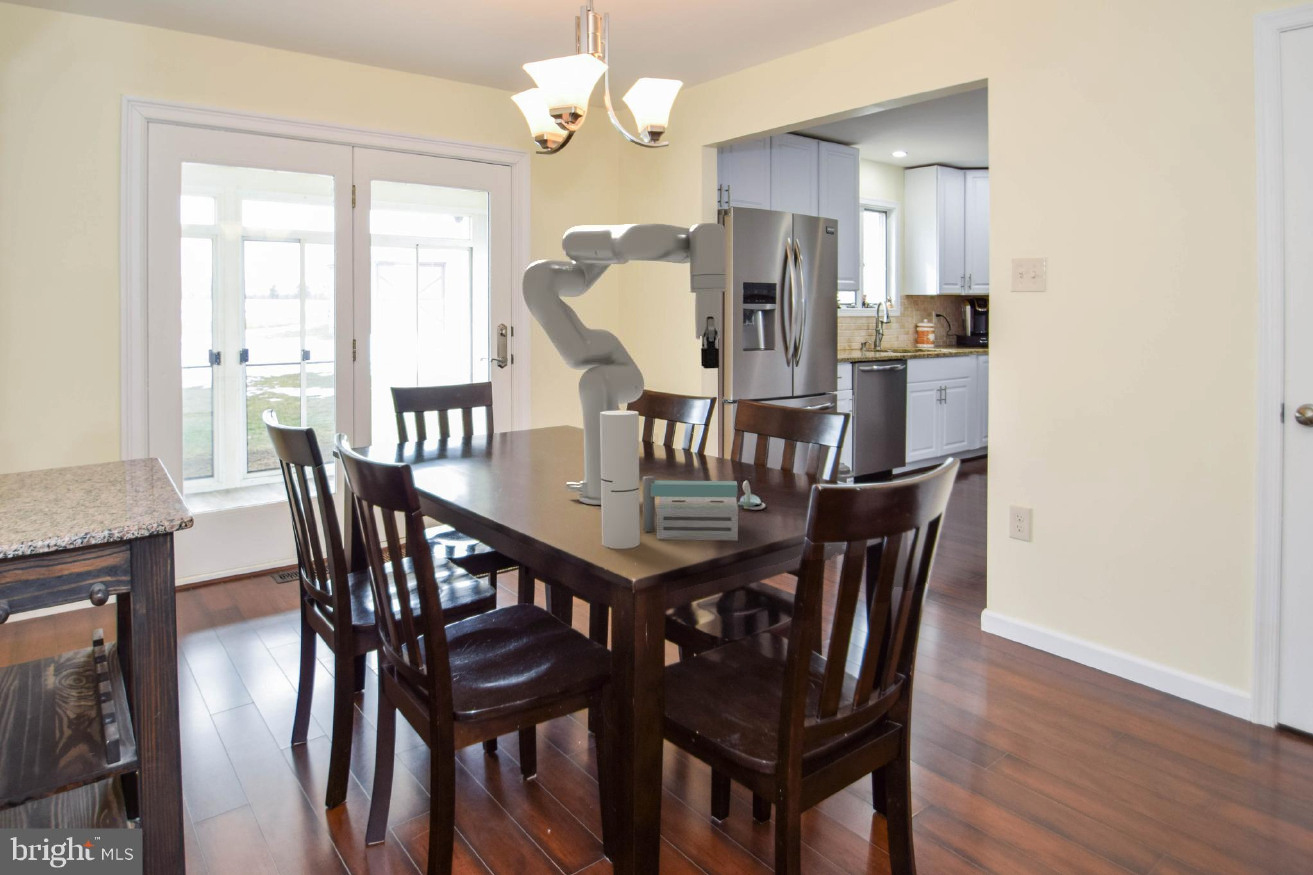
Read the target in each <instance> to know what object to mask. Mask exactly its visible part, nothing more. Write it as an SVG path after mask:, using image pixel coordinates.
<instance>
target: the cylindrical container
mask: <svg viewBox="0 0 1313 875" xmlns="http://www.w3.org/2000/svg"><path fill="white" fill-rule="evenodd" d="M639 423H640V422H639V411H635V410H621V409H620V410H616V411H604V412H600V444H601V505H600V506H601V507H600V508H601V545H602V546H603V545H604V546H603V547H604V548H608V547H609V548H608V549H615V550H622V549H624V550H625V549H626V550H627V549H632V548H636V547H638V546H639V545H640V544H641V541H640V539H641V538H640V534H641V532H640V530H641V529H640V439H639V438H640V433H639V432H640V431H639V430H640V427H639V426H640V424H639Z"/></svg>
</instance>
